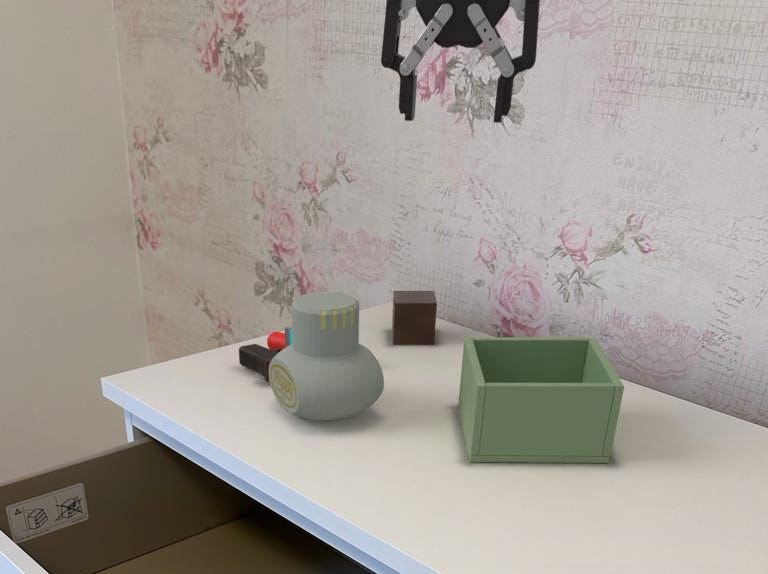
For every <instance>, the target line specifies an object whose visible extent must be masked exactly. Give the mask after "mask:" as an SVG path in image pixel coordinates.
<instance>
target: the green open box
mask: <svg viewBox="0 0 768 574" xmlns="http://www.w3.org/2000/svg"><path fill="white" fill-rule="evenodd" d="M461 360H462V361H461V371H460V372H461V373H460V382H459V393H458V403H457V409H458V414H459V419H460V423H461V427H462V428H461V429H462V434H463V437H464V441H465V446H466V452H467V457H468V460H469V462H470V463H549V464H550V463H551V464H552V463H554V464H557V463H559V464H560V463H562V464H563V463H564V464H565V463H566V464H567V463H568V464H569V463H571V464H609V463H610V461H611V455H612V451H613V450H612V449H613V446H614V441H615V435H616V430H617V425H618V420H619V415H620V412H621V411H620V410H621V405H622V401H623V395H624V389H625V385H624V384H623V381H622V380H621V378H620V376H619V375H618V373H617V372H616V370H615V368H614V366H613V365H612V363H611V361H610V360H609V358H608V357H607V354H606V353H605V351H604V350H603V348H602V347H601V344H600V343H599V341H598V340H597V338H596V337H594V336H589V337H588V336H586V337H585V336H583V337H582V336H579V337H577V336H576V337H574V336H573V337H572V336H571V337H569V336H568V337H567V336H565V337H562V336H560V337H558V336H556V337H555V336H553V337H552V336H550V337H549V336H541V337H539V336H533V337H532V336H531V337H530V336H526V337H525V336H523V337H522V336H521V337H520V336H516V337H515V336H514V337H513V336H507V337H506V336H505V337H504V336H503V337H501V336H500V337H499V336H494V337H493V336H478V337H477V336H476V337H474V336H473V337H471V336H470V337H469V336H467V337H464V339H463V350H462V359H461Z"/></svg>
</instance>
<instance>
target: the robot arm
mask: <svg viewBox="0 0 768 574" xmlns="http://www.w3.org/2000/svg"><path fill="white" fill-rule="evenodd" d="M540 6H541V0H386V3H385V13H384V26H383V34H382V35H383V37H382V46H381V58H380V63H381V66H382V67H383V68H384V69H390V70H391V71H394V72H396V73H397V74H398V76H399V96H398V110H399V114H400V115H404V121H406V122H412V121H413V120H415V117H416V102H417V101H416V100H417V87H418V86H417V85H418V74H416V68H417V67H418V66H419V64H420V63H421V62H422V60H423V59H424V57H425V56H426V55H427V53H429V51H430V49H431V48H432V47H433V45H434V44H436V45H437V46H439V47H441V48H442V49H445V48H447V49H449V48H453V47H456V46H460V47H463V48H466V49H476V48H477V47H480V46H481V45H482V44H483V45H484V46H485V48H486V50H487V52H488V54H489V56H490V57H491V58H492V60H493V61H494V64H495V65H496V67H497V68H498V70H499V72H500V75H499V76H498V78H497V85H496V94H495V95H496V96H495V104H494V113H493V114H494V115H493V123H497V124H498V123H500V124H501V123H502V122H503V117H507V116H508V115H509V113H510V111H511V107H512V99H513V91H514V84H515V83H514V81H515V77H516V76H517V75H518V74H520V73H523V72H524V71H526V70H531V69H532V68H533V67H534V66H535V63H536V61H537V49H538V48H537V47H538V35H539V21H540V20H539V19H540V8H541V7H540ZM413 8H416V11H417V13H418V14H419V17H420V19H421V21H422V22H423V24H424V26H425V29H424V30H423V32H422V33H421V34H420V36H419V37H418V39H417V40H416V41H415V43H414V44H413V46H412V48H411V49H410V51H409V52H408V53H407V55H406V56H404V55H401V54H400V53H399V50H400V49H399V47H400V37H401V30H402V29H401V27H402V22H403V21H405V20H407V19H408V18H409V17H410V12H411V11H412V9H413ZM510 8H513V10H514V12H515V17H516V19H517V21H520V22H523V34H522V47H521V55H518V56H515V57H512V55H511V54H510V52H509V49H508V48H507V46H506V44H505V41H504V39H503V38H502V36H501V34H500V32H499V30H498V28H497V25H499V23H500V21H501V20H502V18H503V17H504V16H505V14H506V13H507V12H508V11H509V9H510Z"/></svg>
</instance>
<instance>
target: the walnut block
mask: <svg viewBox="0 0 768 574" xmlns="http://www.w3.org/2000/svg"><path fill="white" fill-rule="evenodd" d="M437 302H438V301H437V296H436V293H435V290H393V296H392V320H391V336H392V337H391V338H392V345H435V339H436V338H435V337H436V324H437V323H436V322H437V311H438V303H437Z"/></svg>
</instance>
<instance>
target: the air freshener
mask: <svg viewBox="0 0 768 574" xmlns="http://www.w3.org/2000/svg"><path fill="white" fill-rule="evenodd" d="M291 328H292V344H291V345H289V346H287V347H286V348H284V349H283V350H281V351H280V352H279V353H278V354H277V355H276V356H275V357H274V358H273V359H272V360H271V362H270V364H269V381H270V382H269V384H270V388H271V391H272V393H273V396H274V398H275V399H276V401H277V403H278V404H279V405H280V407H281V408H282V409H283V410H284V411H285V412H286V413H288V414H291V415H293V416H295V417H296V418H298V419H301V420H306V421H313V422H334V421H341V420H346V419H349V418H352V417H355V416H358V415H359V414H361V413H363V412H365V411H367V410H368V409H369V408H370V407H372V406H373V405H374V404H375V403H376V402H377V401H378V400H379V398H380V397H381V396H382V394H383V391H384V387H385V378H384V373H383V369H382V367H381V365H380V363H379V361H378V359H377V357H376V356H375V354H374V353H373V352H372V351H371V350H370V349H369V348H368V347H366V346H364V345H362V344H361V343H360V302H359V301H358V299H357V298H356V297H355V296H354V295H351V294H349V293H345V292H339V291H314V292H313V291H312V292H308V293H304V294H302V295H299V296H298V297H296V298H295V299H294V300H293V301H292V303H291Z"/></svg>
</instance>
